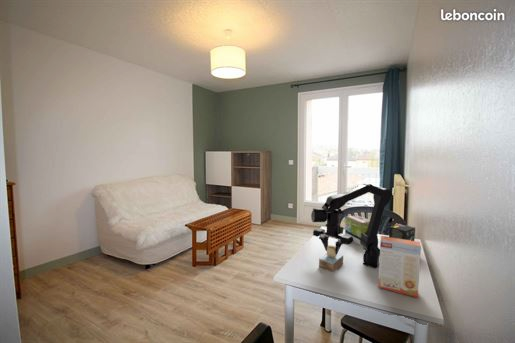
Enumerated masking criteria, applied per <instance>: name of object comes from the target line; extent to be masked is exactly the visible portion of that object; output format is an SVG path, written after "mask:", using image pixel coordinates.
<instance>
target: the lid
mask: <svg viewBox="0 0 515 343" xmlns="http://www.w3.org/2000/svg"><path fill="white" fill-rule="evenodd" d="M342 257H343V258H344V254H341V253H338V254H337V256H336V257H329V256H327V253H326V254H324V255H322V256H321V257H319V259H318V261H319V260H322V261H325V262H327V263H330V264H334V263H335V262H337V261H338V260H339V259H341V258H342Z"/></svg>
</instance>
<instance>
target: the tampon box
mask: <svg viewBox="0 0 515 343" xmlns="http://www.w3.org/2000/svg"><path fill="white" fill-rule="evenodd" d="M388 230H389V232H388V235H389V236H388V237H392V238H398V239H404V240H410V241H415V238H416V237H415V236H416V227H414V226H410V225H406V224H402V223H398V224H394V225H391V226H389V229H388Z"/></svg>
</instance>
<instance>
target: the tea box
mask: <svg viewBox="0 0 515 343" xmlns="http://www.w3.org/2000/svg"><path fill="white" fill-rule="evenodd" d="M369 222H370V219H368V218H365V217H363V216H360V215H358V214H356V215H347V216H345V226H344V228H345V229H344V235H349V236H352V237H353V242H352V243H355V244H357V245H358V246H361V244H360V240H359V239H360V238H361V233H365V232H366V231H367V229H368V225H369ZM361 247H362V246H361Z"/></svg>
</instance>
